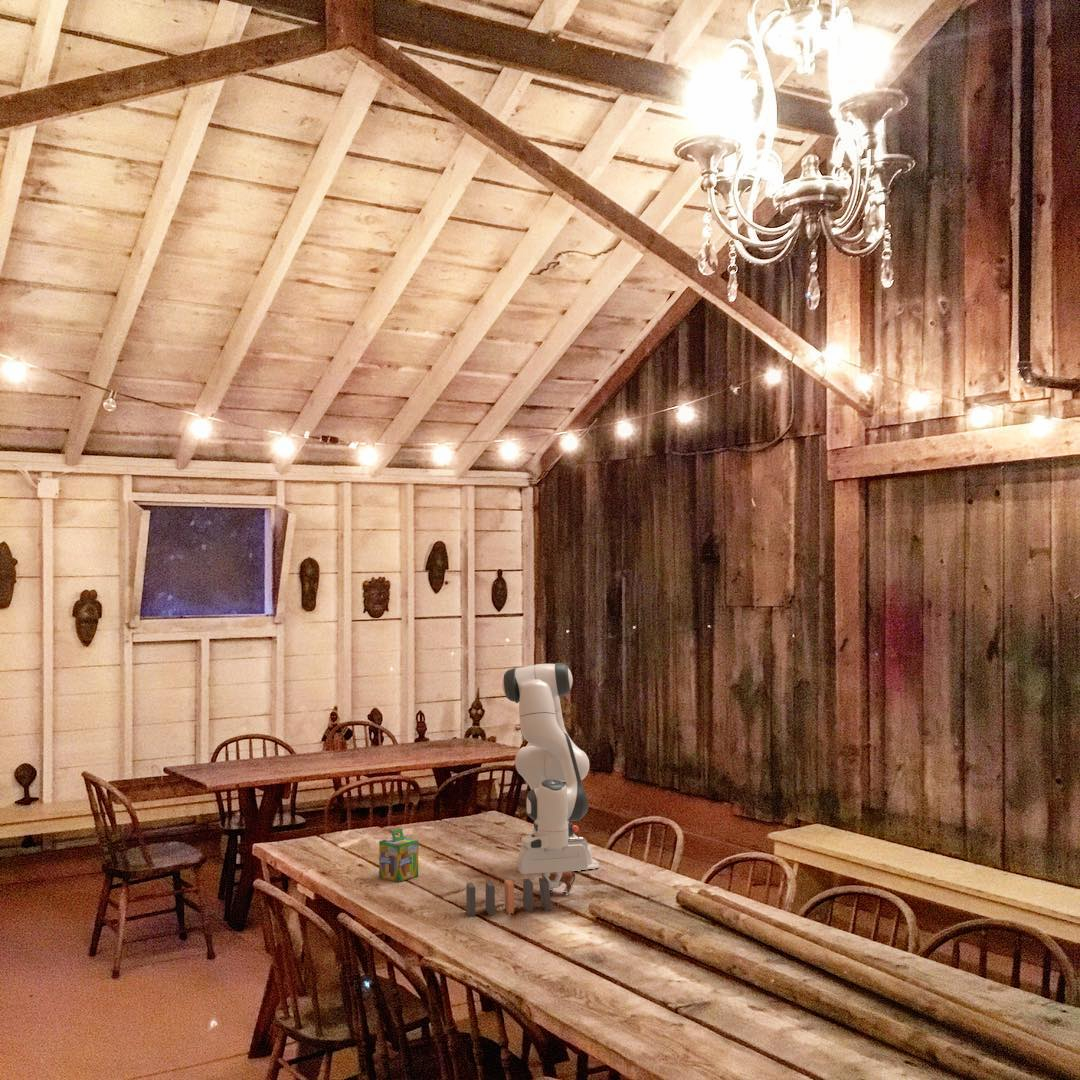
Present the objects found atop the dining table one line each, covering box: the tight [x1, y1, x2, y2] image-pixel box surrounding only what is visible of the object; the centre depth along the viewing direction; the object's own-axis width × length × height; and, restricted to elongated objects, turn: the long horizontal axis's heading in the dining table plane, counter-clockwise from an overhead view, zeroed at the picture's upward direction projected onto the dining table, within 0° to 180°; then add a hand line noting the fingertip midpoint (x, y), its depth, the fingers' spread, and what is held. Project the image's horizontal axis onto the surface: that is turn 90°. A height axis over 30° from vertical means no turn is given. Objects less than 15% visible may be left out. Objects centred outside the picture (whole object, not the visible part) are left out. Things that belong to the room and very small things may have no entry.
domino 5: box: [538, 876, 552, 911], centre depth 309 cm, size 2×5×8 cm, turn 15°
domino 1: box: [465, 882, 476, 918], centre depth 304 cm, size 2×5×8 cm, turn 15°
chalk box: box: [378, 828, 420, 883], centre depth 342 cm, size 9×9×15 cm
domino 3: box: [504, 879, 515, 914], centre depth 307 cm, size 2×5×8 cm, turn 15°
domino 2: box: [484, 881, 496, 916], centre depth 305 cm, size 2×5×8 cm, turn 15°
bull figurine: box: [539, 871, 576, 895], centre depth 326 cm, size 4×13×8 cm, turn 59°
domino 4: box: [522, 878, 534, 913], centre depth 308 cm, size 2×5×8 cm, turn 15°
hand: (552, 887), depth 310 cm, fingers closed
